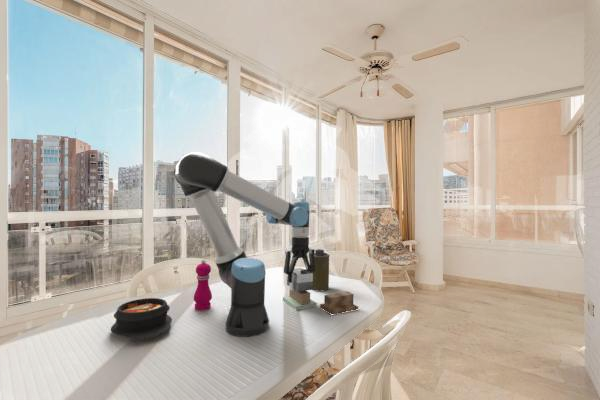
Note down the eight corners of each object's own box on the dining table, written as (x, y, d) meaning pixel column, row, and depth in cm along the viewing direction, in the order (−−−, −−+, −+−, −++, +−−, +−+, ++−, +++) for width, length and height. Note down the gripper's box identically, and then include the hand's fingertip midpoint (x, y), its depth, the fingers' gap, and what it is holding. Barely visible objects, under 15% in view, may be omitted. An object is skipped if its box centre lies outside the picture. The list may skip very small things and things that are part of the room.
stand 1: (295, 310, 122) (296, 295, 122) (282, 300, 134) (283, 287, 134) (316, 306, 127) (316, 292, 127) (302, 297, 139) (302, 284, 139)
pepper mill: (189, 308, 121) (190, 260, 122) (202, 303, 128) (203, 257, 128) (202, 312, 118) (203, 262, 118) (215, 306, 125) (216, 259, 125)
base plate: (286, 284, 134) (287, 277, 134) (300, 283, 137) (300, 275, 137) (298, 291, 124) (298, 283, 124) (312, 289, 127) (312, 281, 127)
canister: (321, 292, 146) (322, 252, 146) (304, 288, 153) (305, 249, 153) (333, 287, 155) (333, 249, 155) (316, 284, 161) (317, 247, 161)
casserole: (103, 324, 105) (103, 301, 105) (158, 312, 118) (159, 291, 118) (120, 352, 87) (120, 323, 87) (183, 333, 99) (184, 308, 99)
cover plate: (287, 276, 134) (287, 266, 134) (300, 275, 137) (301, 265, 137) (298, 283, 124) (298, 271, 124) (312, 281, 127) (312, 270, 127)
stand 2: (331, 315, 118) (332, 300, 118) (320, 307, 125) (320, 293, 125) (357, 310, 124) (358, 295, 124) (345, 303, 132) (345, 289, 132)
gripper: (283, 238, 123) (282, 293, 122) (324, 236, 132) (323, 288, 132) (276, 236, 129) (275, 289, 129) (315, 234, 139) (314, 283, 138)
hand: (299, 288), depth 130 cm, fingers open, 7 cm apart
